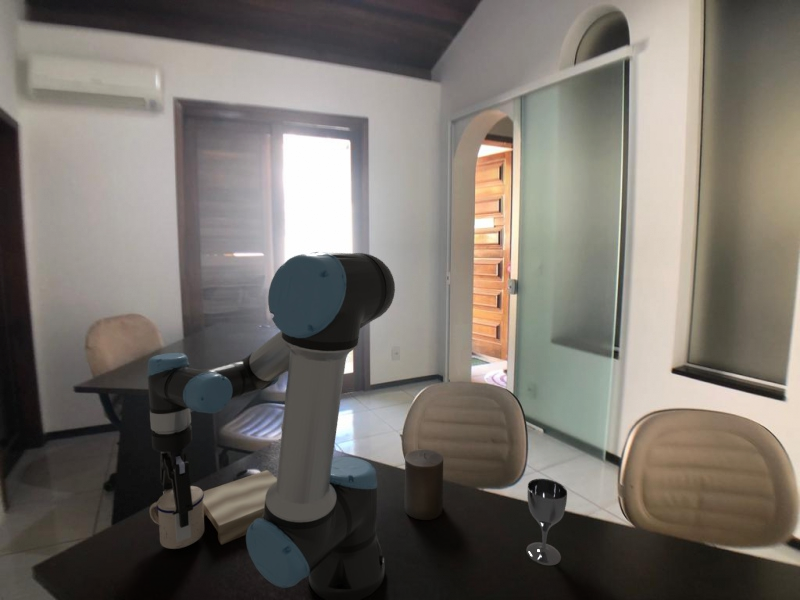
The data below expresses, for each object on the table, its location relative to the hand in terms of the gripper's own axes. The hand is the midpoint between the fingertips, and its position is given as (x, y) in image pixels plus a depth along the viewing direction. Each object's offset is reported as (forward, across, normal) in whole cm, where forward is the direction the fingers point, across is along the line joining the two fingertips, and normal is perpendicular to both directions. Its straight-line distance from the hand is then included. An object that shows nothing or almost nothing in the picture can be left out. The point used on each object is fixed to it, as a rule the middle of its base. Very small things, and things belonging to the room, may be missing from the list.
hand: (177, 527), depth 93 cm
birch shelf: (+5, +2, -16) cm, 17 cm away
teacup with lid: (+3, +1, 0) cm, 3 cm away
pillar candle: (+5, -24, -51) cm, 56 cm away
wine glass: (+6, -52, -60) cm, 79 cm away
